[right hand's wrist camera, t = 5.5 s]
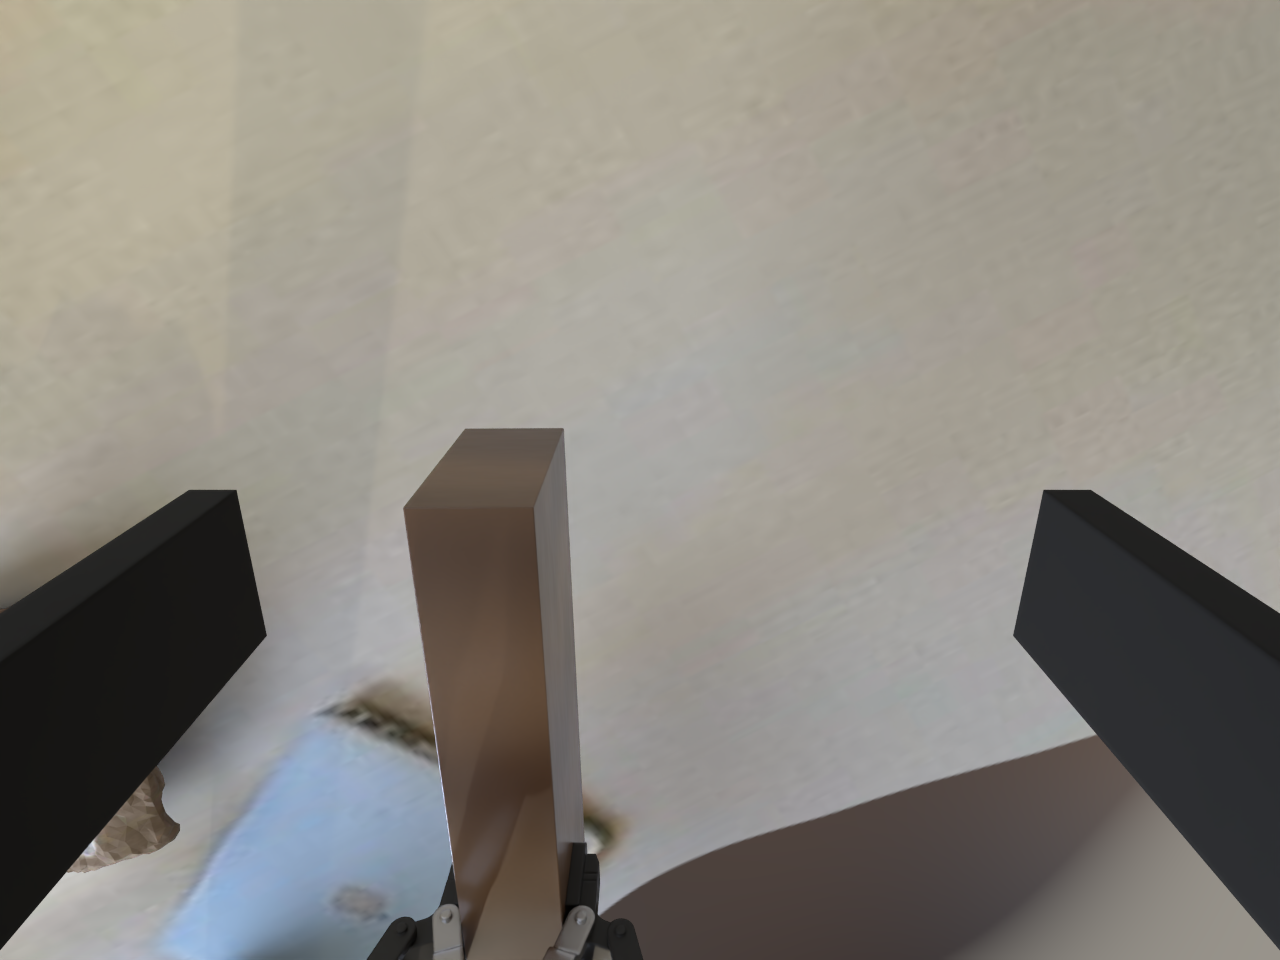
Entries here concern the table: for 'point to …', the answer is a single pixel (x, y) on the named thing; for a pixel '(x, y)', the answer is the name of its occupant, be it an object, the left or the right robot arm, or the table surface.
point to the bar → (502, 680)
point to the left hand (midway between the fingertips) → (530, 855)
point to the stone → (131, 828)
